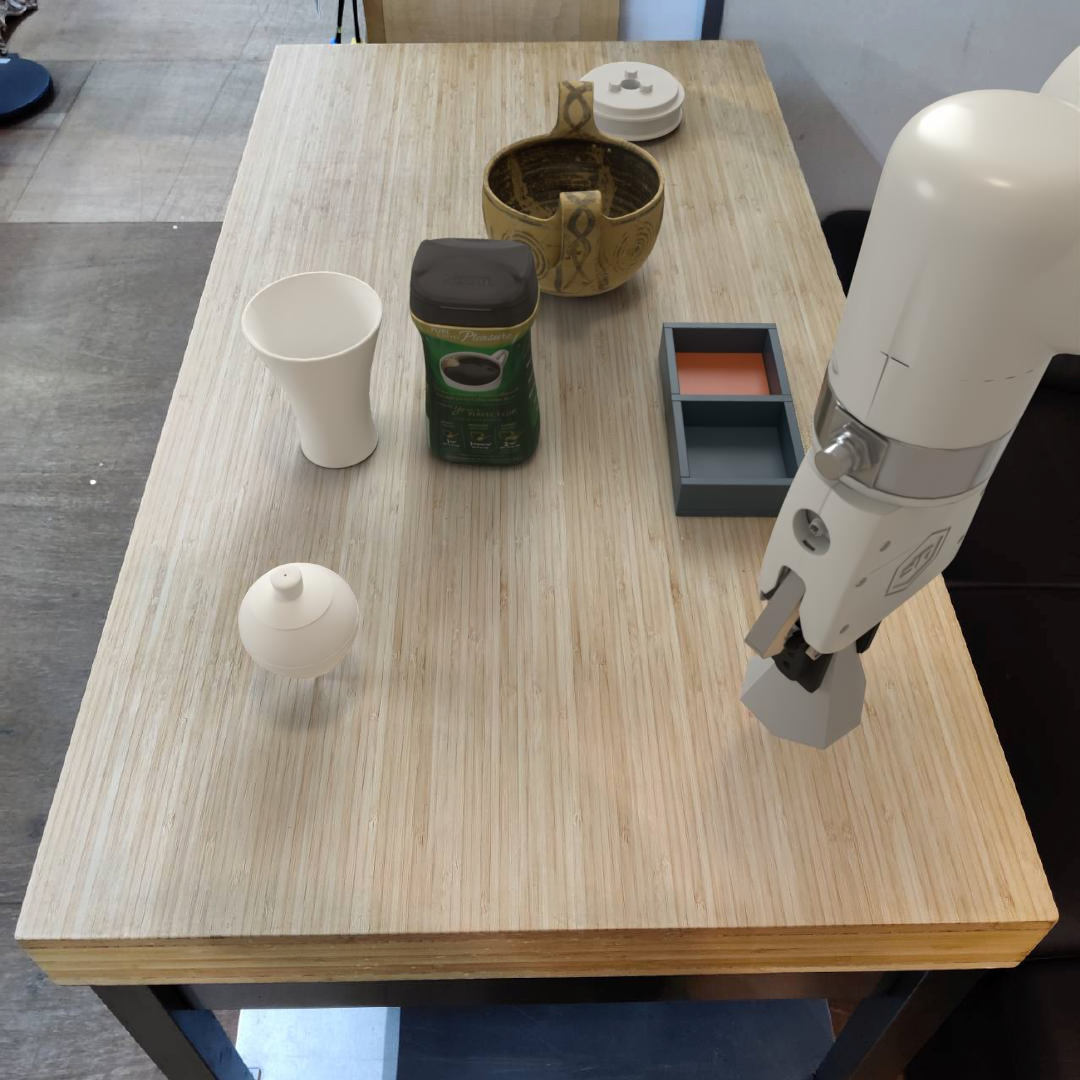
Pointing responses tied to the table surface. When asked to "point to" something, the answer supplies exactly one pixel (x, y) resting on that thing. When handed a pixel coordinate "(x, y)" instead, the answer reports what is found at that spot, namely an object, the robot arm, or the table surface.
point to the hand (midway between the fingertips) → (818, 651)
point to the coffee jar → (477, 348)
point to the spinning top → (299, 620)
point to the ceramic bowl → (576, 200)
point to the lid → (635, 100)
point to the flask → (807, 700)
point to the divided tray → (728, 418)
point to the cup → (321, 358)
